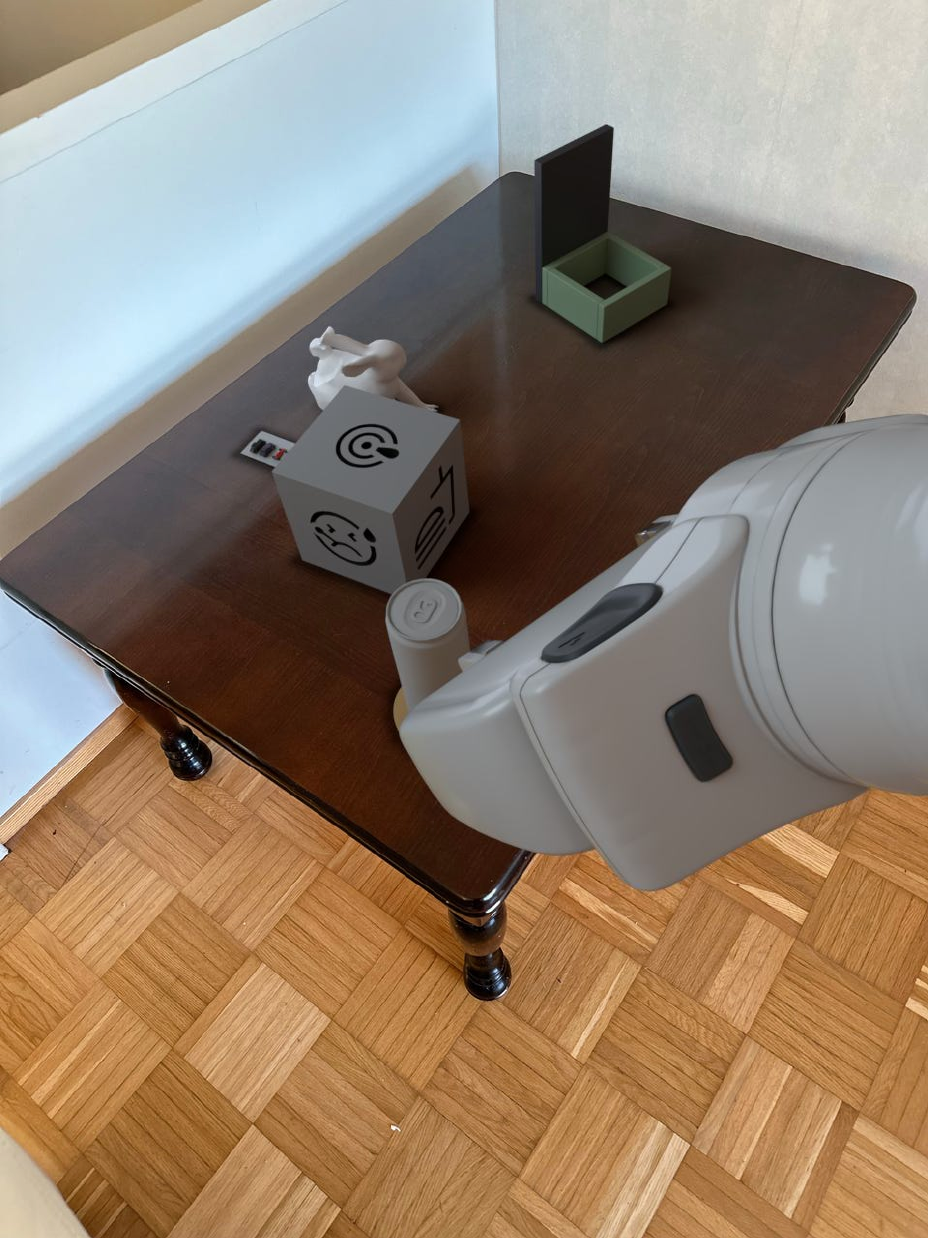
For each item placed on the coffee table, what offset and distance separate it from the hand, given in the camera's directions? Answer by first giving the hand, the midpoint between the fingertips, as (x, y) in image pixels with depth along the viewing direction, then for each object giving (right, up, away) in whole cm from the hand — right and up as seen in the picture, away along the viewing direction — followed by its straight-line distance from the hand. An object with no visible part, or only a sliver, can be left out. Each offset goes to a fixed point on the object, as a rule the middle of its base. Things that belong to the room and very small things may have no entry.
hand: (569, 603), depth 37 cm
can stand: (+9, +30, +52) cm, 61 cm away
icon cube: (-11, +6, +37) cm, 39 cm away
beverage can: (-6, -7, +26) cm, 28 cm away
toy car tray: (-20, +14, +43) cm, 49 cm away
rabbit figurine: (-13, +17, +45) cm, 50 cm away
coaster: (-6, -7, +27) cm, 28 cm away
